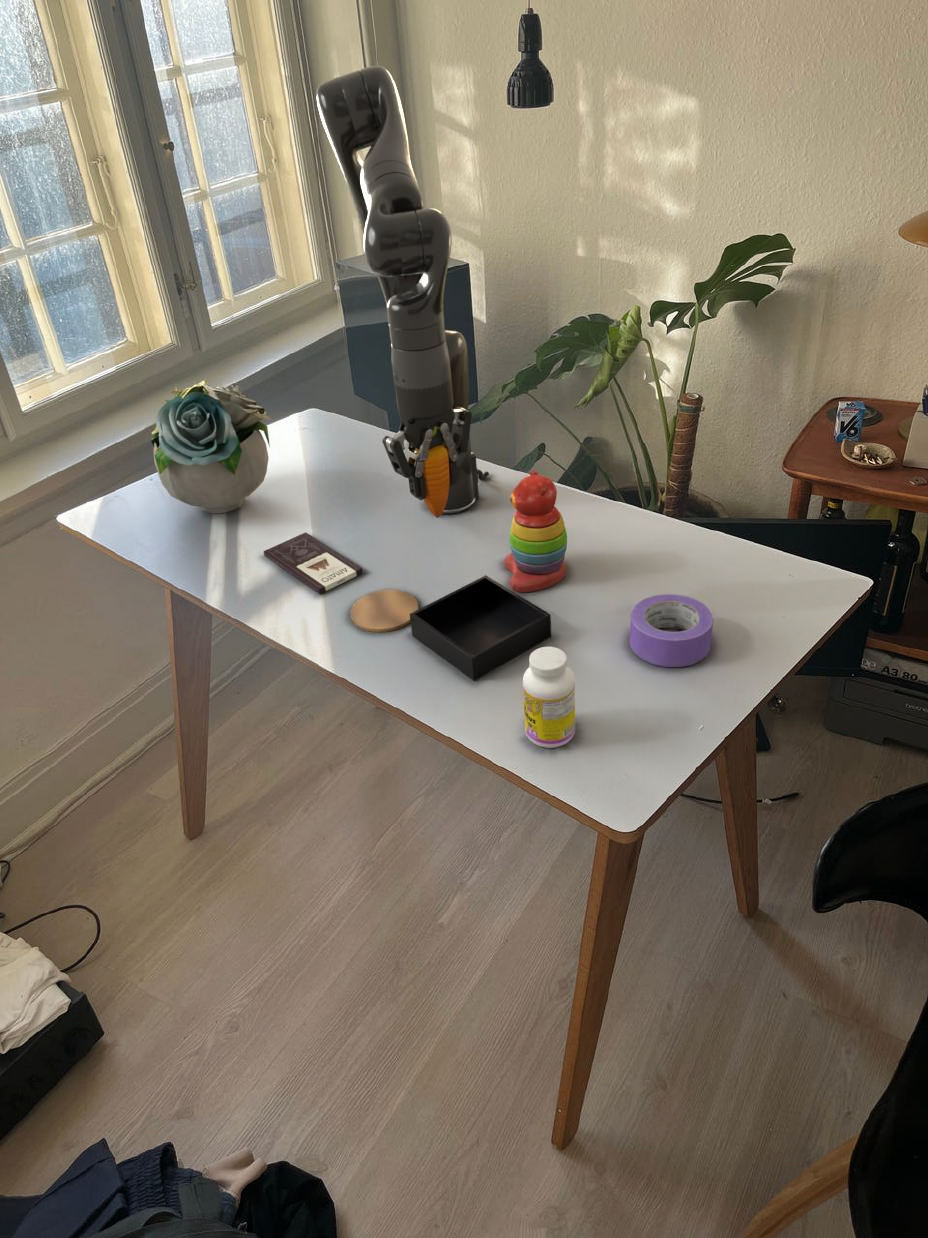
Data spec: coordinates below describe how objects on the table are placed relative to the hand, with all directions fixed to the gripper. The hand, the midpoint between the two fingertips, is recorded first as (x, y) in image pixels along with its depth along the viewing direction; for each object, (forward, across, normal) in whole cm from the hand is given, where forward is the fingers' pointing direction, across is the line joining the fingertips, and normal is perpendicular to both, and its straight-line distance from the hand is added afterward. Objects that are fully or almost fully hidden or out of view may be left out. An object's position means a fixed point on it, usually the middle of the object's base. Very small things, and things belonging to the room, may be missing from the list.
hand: (435, 490), depth 129 cm
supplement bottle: (+24, -6, -29) cm, 38 cm away
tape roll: (+24, +20, -27) cm, 41 cm away
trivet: (+24, -5, +10) cm, 27 cm away
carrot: (+5, 0, 0) cm, 5 cm away
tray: (+24, +2, -6) cm, 25 cm away
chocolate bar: (+24, -6, +31) cm, 40 cm away
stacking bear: (+24, +20, +1) cm, 31 cm away
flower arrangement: (+24, -6, +64) cm, 69 cm away
